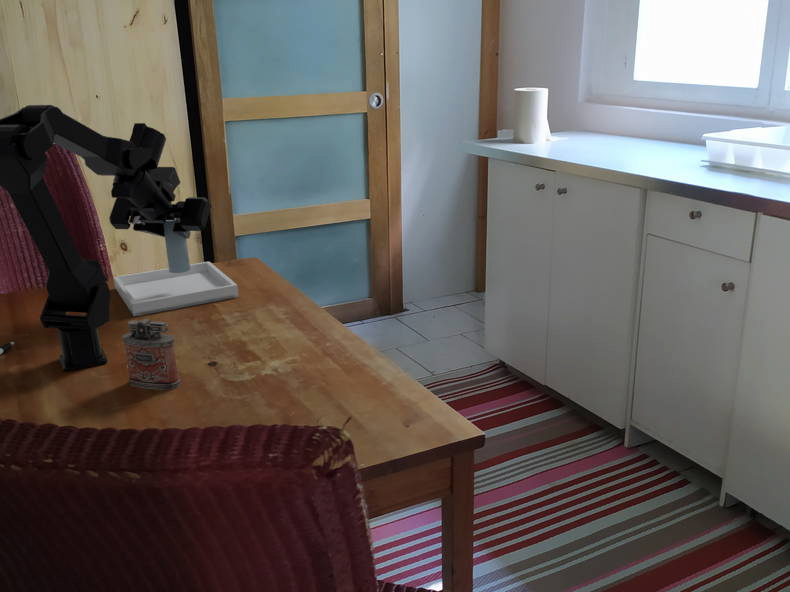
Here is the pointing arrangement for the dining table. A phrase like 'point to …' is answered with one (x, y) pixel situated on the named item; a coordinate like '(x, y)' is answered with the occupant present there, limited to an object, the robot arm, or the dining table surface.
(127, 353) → the lighter
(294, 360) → the dining table surface
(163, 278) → the tray
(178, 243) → the dowel
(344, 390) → the dining table surface
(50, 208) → the robot arm
